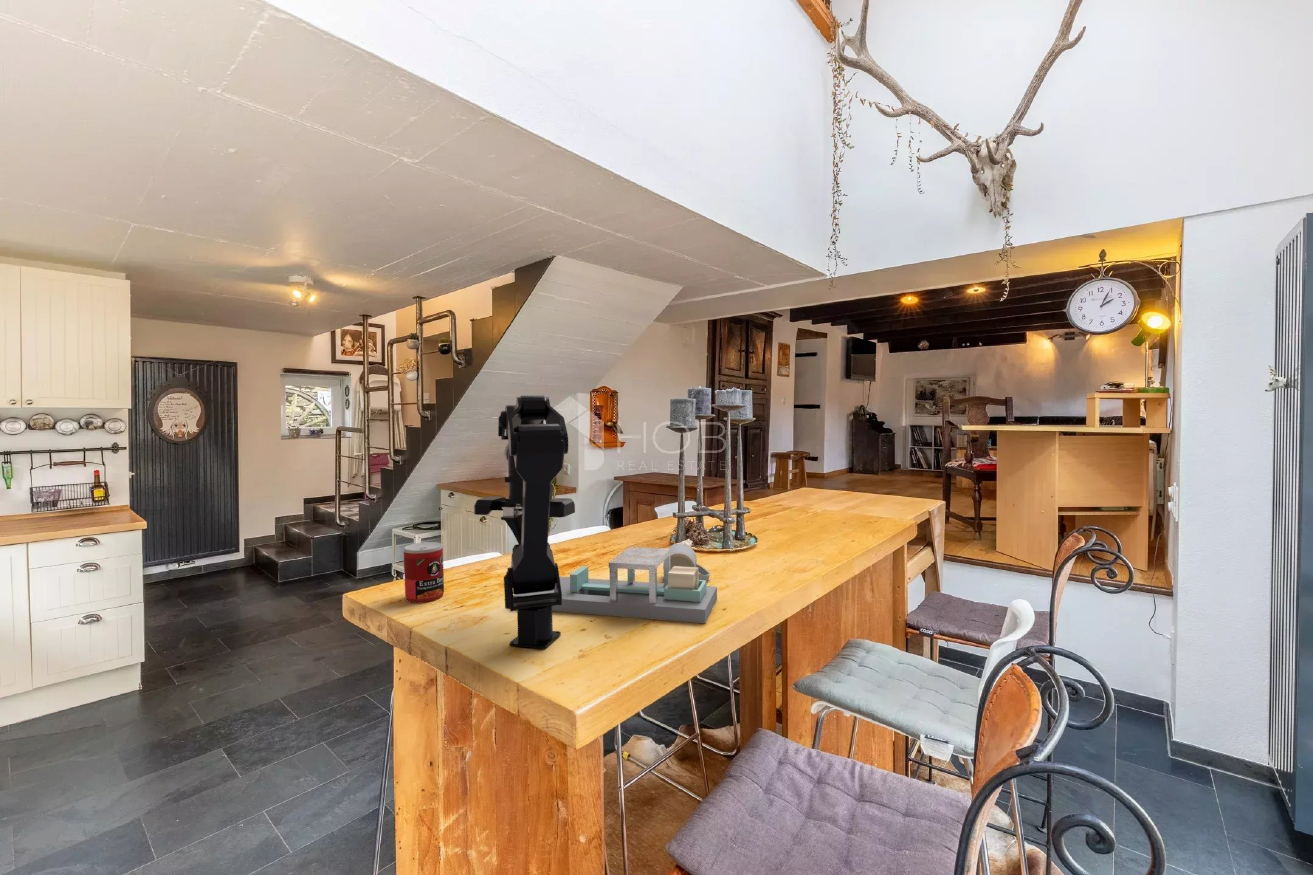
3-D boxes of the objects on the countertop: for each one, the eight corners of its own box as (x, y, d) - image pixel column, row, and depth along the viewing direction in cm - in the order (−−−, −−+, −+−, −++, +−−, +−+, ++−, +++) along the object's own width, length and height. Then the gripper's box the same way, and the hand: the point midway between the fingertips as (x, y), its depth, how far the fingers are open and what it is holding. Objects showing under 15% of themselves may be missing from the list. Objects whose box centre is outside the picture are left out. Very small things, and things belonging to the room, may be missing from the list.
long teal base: (700, 601, 104) (699, 583, 104) (569, 592, 111) (568, 575, 111) (706, 590, 111) (706, 572, 111) (582, 582, 118) (582, 565, 118)
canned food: (418, 605, 113) (416, 552, 112) (397, 598, 118) (396, 546, 117) (452, 595, 119) (450, 544, 118) (431, 589, 124) (429, 540, 123)
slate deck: (705, 623, 101) (705, 609, 101) (513, 607, 111) (513, 595, 111) (717, 598, 114) (716, 586, 114) (545, 586, 124) (545, 575, 124)
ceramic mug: (662, 584, 124) (662, 550, 124) (664, 574, 133) (664, 542, 132) (710, 585, 124) (710, 551, 124) (709, 575, 132) (709, 543, 132)
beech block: (693, 600, 106) (693, 574, 106) (668, 598, 107) (667, 572, 107) (698, 592, 111) (698, 567, 110) (674, 590, 112) (673, 566, 112)
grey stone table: (655, 604, 104) (654, 564, 103) (609, 601, 106) (608, 562, 106) (671, 584, 116) (670, 548, 116) (630, 581, 118) (629, 546, 118)
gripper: (585, 466, 112) (586, 543, 113) (502, 466, 117) (503, 540, 117) (561, 472, 101) (563, 557, 102) (471, 471, 106) (473, 552, 107)
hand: (525, 551), depth 107 cm, fingers closed
